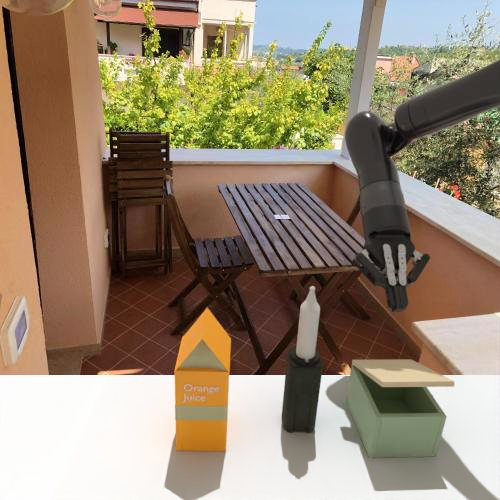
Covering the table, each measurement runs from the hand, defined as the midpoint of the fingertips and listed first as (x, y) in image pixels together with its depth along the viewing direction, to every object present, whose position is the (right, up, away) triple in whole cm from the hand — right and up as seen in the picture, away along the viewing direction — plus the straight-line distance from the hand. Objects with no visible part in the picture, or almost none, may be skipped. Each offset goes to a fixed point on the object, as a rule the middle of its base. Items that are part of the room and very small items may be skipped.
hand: (399, 310), depth 67 cm
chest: (-1, -20, +4) cm, 20 cm away
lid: (0, -10, 0) cm, 10 cm away
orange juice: (-31, -19, +1) cm, 37 cm away
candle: (-15, -19, +4) cm, 25 cm away
